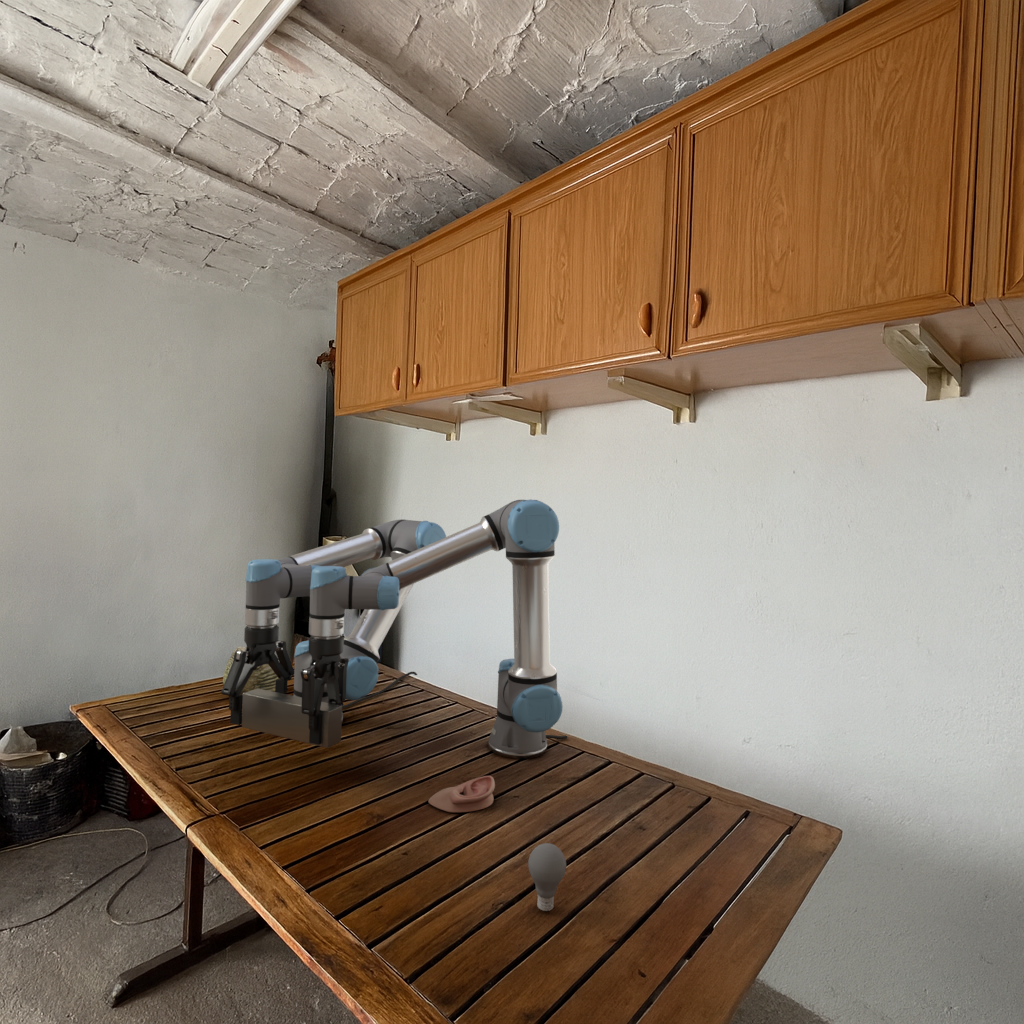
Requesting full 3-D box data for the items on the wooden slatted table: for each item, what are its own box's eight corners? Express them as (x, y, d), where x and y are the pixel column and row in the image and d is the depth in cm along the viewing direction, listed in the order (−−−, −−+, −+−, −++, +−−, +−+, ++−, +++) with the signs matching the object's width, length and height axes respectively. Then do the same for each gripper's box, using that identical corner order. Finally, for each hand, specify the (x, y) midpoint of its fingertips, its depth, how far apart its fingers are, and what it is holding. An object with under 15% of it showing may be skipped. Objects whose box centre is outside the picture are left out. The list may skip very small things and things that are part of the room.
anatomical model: (423, 789, 130) (441, 766, 141) (423, 808, 130) (440, 784, 141) (486, 798, 127) (499, 774, 139) (485, 817, 128) (498, 792, 139)
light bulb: (524, 896, 103) (527, 835, 103) (560, 896, 103) (563, 835, 103) (528, 921, 97) (531, 856, 97) (567, 920, 97) (570, 856, 97)
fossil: (218, 695, 195) (220, 647, 195) (278, 685, 208) (279, 640, 207) (228, 703, 189) (230, 653, 188) (289, 692, 201) (290, 645, 201)
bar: (241, 727, 149) (242, 693, 149) (256, 721, 153) (257, 688, 153) (327, 748, 139) (328, 711, 138) (341, 741, 143) (342, 705, 143)
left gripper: (231, 637, 136) (227, 734, 137) (311, 618, 159) (308, 702, 159) (205, 632, 139) (202, 728, 140) (287, 615, 162) (285, 697, 162)
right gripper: (312, 645, 132) (309, 756, 132) (364, 630, 148) (361, 729, 148) (284, 641, 135) (281, 749, 135) (338, 627, 151) (335, 724, 151)
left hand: (258, 715), depth 150 cm, fingers open, 13 cm apart
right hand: (323, 739), depth 142 cm, fingers closed on bar, 5 cm apart
